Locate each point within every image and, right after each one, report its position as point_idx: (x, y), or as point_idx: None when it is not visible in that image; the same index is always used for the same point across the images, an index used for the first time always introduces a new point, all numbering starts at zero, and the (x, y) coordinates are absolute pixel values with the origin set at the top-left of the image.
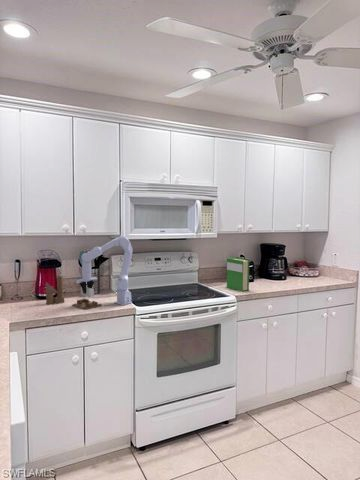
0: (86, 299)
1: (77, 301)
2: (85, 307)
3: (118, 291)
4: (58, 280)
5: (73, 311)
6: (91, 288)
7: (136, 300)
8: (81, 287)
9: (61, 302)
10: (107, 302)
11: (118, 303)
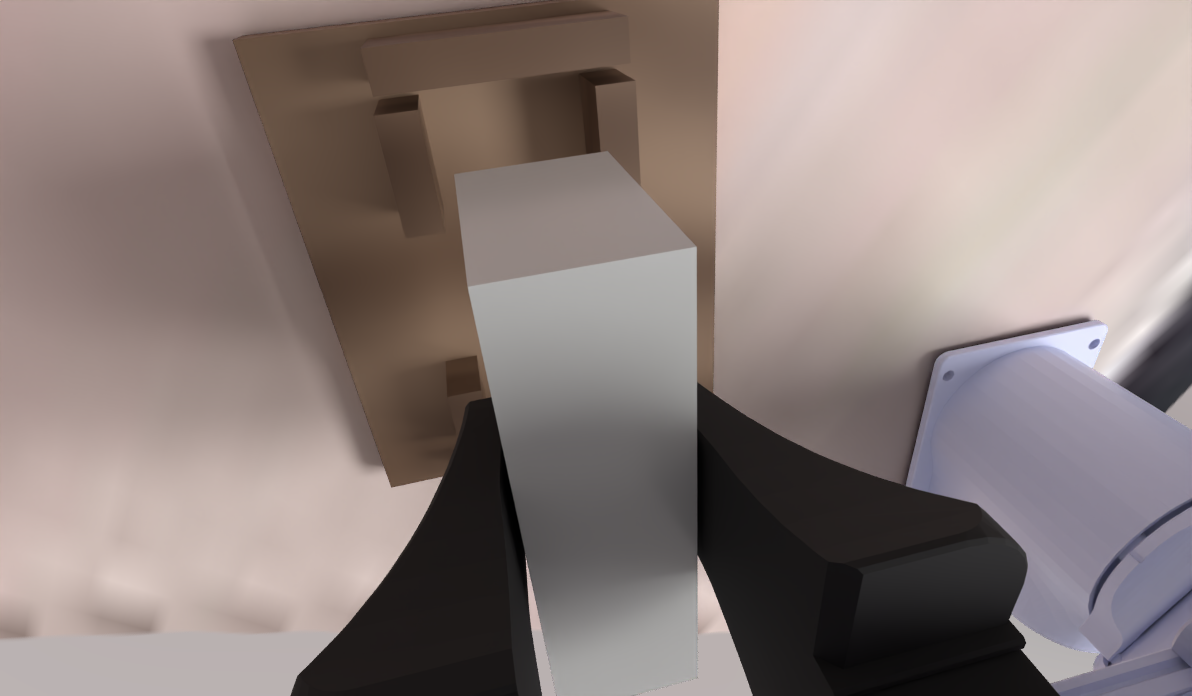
0: (610, 143)
1: (370, 77)
2: (403, 449)
3: (1079, 576)
4: None
5: (156, 457)
6: (678, 631)
7: (1172, 398)
8: (492, 344)
9: None
10: (907, 264)
11: (919, 443)
